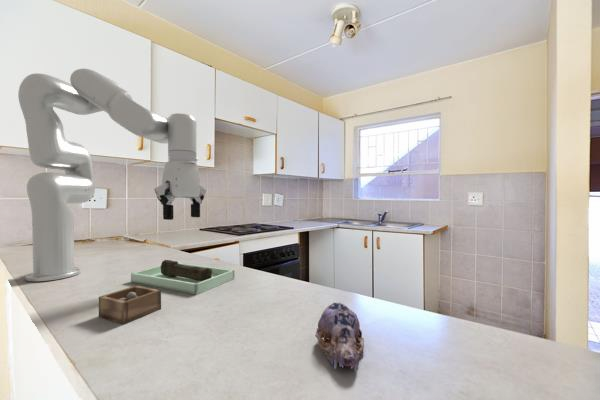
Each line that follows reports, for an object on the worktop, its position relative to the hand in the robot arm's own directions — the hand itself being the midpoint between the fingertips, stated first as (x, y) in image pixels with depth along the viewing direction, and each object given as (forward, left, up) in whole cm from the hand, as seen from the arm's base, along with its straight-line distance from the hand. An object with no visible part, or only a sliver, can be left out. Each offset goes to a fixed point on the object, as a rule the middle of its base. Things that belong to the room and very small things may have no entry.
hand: (182, 218), depth 80 cm
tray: (0, 0, -18) cm, 18 cm away
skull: (+52, -17, -18) cm, 58 cm away
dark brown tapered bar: (0, 0, -18) cm, 18 cm away
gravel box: (+8, -21, -18) cm, 29 cm away
